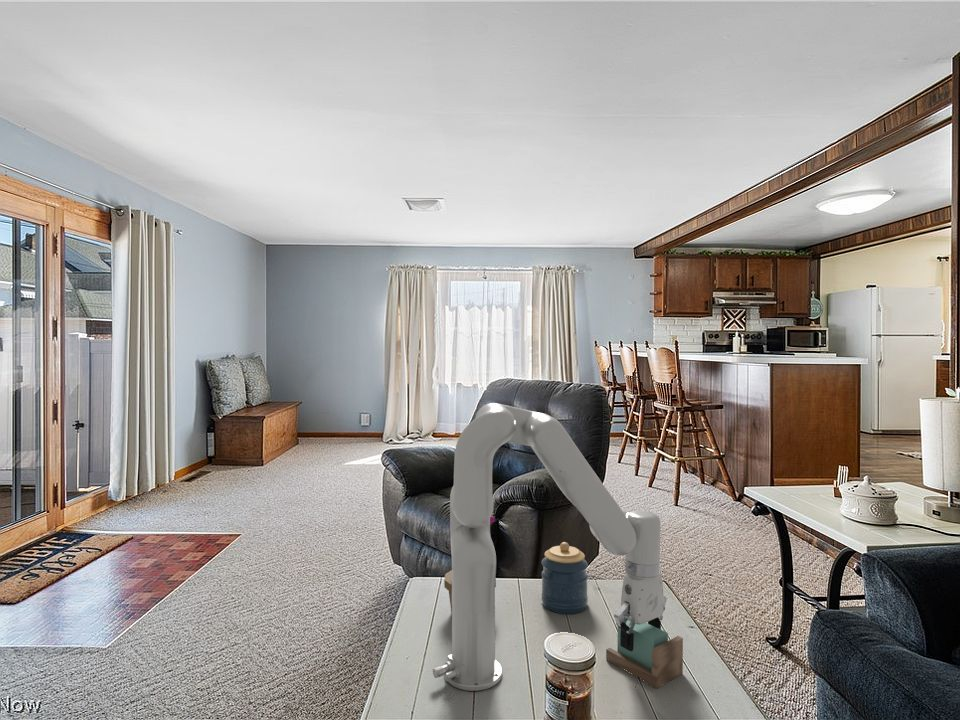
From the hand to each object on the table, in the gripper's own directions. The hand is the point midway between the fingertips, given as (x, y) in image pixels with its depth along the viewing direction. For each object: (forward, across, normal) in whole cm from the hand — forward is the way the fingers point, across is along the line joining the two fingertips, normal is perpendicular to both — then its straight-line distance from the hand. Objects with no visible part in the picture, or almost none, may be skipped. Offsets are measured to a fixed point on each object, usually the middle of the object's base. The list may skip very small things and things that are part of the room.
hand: (640, 642), depth 127 cm
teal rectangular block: (+6, 0, 0) cm, 6 cm away
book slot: (+6, 0, 0) cm, 6 cm away
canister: (+6, +8, +33) cm, 34 cm away
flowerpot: (+6, -16, +44) cm, 47 cm away
